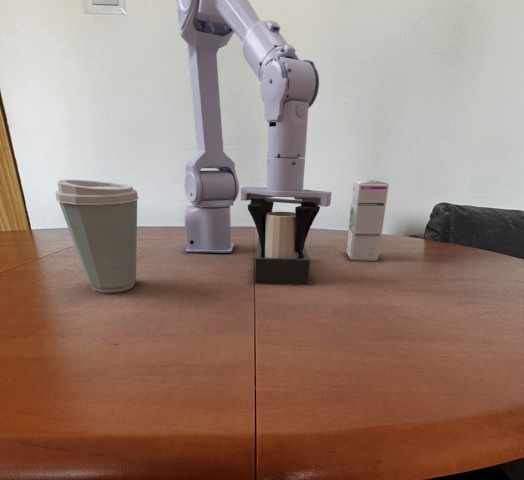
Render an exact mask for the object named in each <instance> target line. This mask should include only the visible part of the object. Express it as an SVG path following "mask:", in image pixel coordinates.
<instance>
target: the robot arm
mask: <svg viewBox="0 0 524 480" xmlns="http://www.w3.org/2000/svg"><path fill="white" fill-rule="evenodd" d="M176 9H177V10H176V11H177V19H178V27H179V35H180V37H181V38H182V39H183V41H184V42H186V49H187V50H186V51H187V58H188V59H187V60H188V69H189V70H188V71H189V79H190V90H191V101H192V111H193V122H194V132H195V143H196V151H197V152H195V154H194V155H192V156H191V158H190V159H189V160H188V161H187V162H186V163H185V165H184V170H185V171H184V173H185V174H184V175H185V176H184V192H185V195H186V198H187V200H188V201H189V202H190V204H191V205H186V206H185V208H184V215H183V216H184V220H183V221H184V232H185V233H184V234H185V247H186V249H185V252H186V253H208V254H210V253H213V254H221V253H222V254H231V253H232V251H233V249H234V247H235V242H232V231H231V230H232V229H231V228H232V226H231V222H232V221H231V207H233V206H234V202H235V201H236V200H237V198H238V196H239V193H240V201H243V202H244V201H245V202H246V201H250V202H249V203H248V204H247V211H248V212H249V214H250V216H251V218H252V220H253V222H254V225H255V228H256V231H257V235H258V238H259V240H260V245H261V248H265V232H266V213H268V212H273V208H274V203H279V204H280V203H281V204H294V205H298V206H295V208H294V211H295V213H296V242H295V252H297V253H300V252H301V251H303V249H304V246H305V244H306V241H307V237H308V234H309V232H310V230H311V227H312V225H313V223H314V221H315V220H316V217H317V216H318V213H319V212H320V209H321V207H326V208H327V207H329V206H331V204H332V194H333V193H332V191H324V190H323V191H322V190H314V189H304V183H305V167H306V154H307V153H306V151H307V137H308V136H307V135H308V134H307V133H308V121H309V108H311V107H312V106H313V104H314V103H315V102H316V99H317V96H318V94H319V89H320V75H319V72H318V69H317V67H316V65H315V62H314V61H313V60H310V59H301V58H299V57H298V56H297V54H296V49H295V47H294V46H293V45H292V44H288V42H287V40H286V39H285V38H284V36H283V35H282V34H281V32H280V31H281V26H280V25H279V23H278V22H276V21H274V20H269V19H268V20H261V19H260V18H259V16H258V14H257V13H256V11H255V9H254V8H253V6H252V5H251V3H250V1H249V0H176ZM234 34H236V36H237V37H238V38H239V40H240V41H241V42H242V55H243V59H244V60H245V61H246V62H247V64H248V66H249V67H250V68H251V70H252V71H253V73H254V74H255V76H256V77H257V79H258V81H259V82H260V83H259V92H260V98H261V100H262V103H263V107H264V118H265V121H266V122H267V151H266V152H267V153H266V156H267V158H266V187H263V186H262V187H259V186H258V187H256V186H243V187H240V182H239V178H238V175H237V171H236V163H235V162H234V161H233V160H232V159H231V158H230V157H229V156H228V154H226V152H225V151H224V139H223V126H222V112H221V111H222V110H221V97H220V85H219V72H218V71H219V70H218V57H217V55H218V52H219V49H221V48H224V47H226V46H227V45H228V44H229V41H230V40H231V38H232V37H233V35H234ZM202 169H214V170H202ZM275 197H276V198H275ZM288 198H293V199H288Z"/></svg>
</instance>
